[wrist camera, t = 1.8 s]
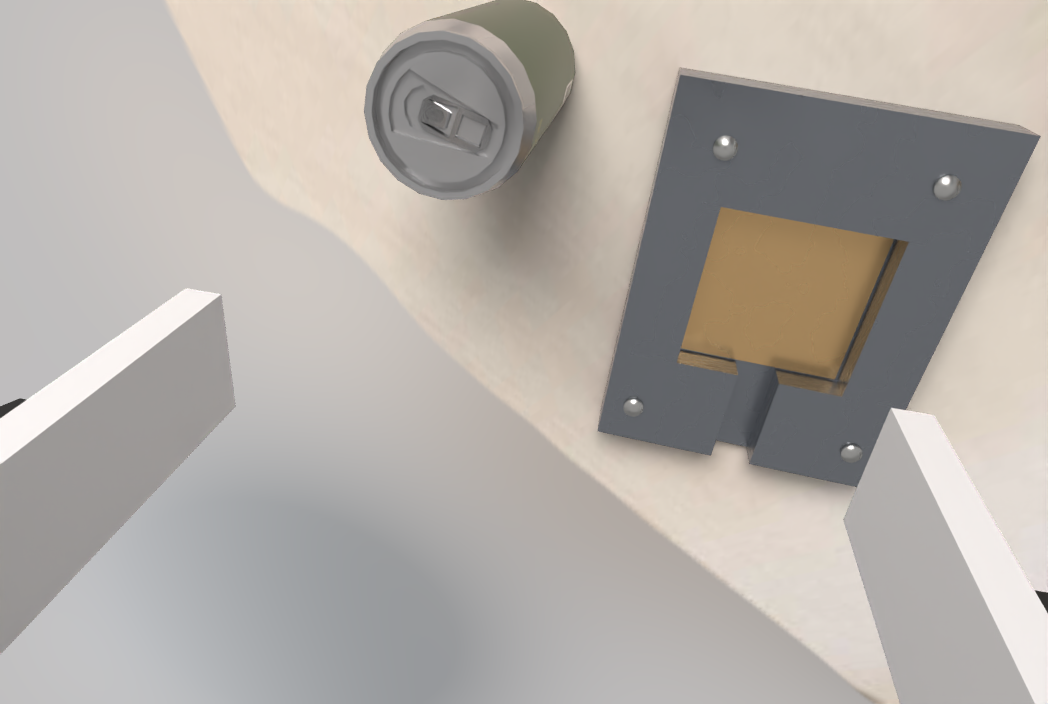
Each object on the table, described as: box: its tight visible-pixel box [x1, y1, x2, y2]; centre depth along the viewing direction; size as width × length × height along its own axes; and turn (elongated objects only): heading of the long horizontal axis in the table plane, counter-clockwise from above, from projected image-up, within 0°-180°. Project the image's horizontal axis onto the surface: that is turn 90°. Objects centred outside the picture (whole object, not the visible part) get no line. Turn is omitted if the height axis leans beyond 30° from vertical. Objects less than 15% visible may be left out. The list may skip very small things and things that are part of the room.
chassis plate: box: [598, 68, 1040, 487], centre depth 34 cm, size 18×14×2 cm
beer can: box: [364, 0, 575, 200], centre depth 27 cm, size 5×5×12 cm
